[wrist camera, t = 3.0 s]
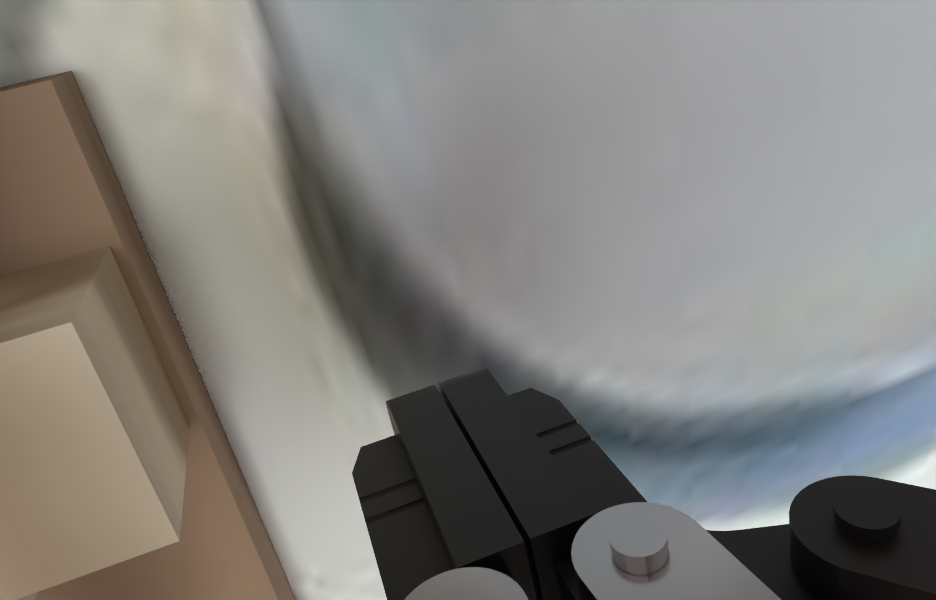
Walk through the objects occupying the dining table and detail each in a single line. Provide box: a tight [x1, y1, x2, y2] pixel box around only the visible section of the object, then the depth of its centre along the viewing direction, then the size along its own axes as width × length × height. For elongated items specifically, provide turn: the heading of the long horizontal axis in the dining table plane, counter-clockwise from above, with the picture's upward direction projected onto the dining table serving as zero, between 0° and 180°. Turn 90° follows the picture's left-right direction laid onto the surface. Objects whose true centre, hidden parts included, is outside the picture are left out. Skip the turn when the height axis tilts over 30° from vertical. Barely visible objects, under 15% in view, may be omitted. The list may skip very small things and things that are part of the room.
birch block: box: [0, 246, 190, 600], centre depth 14 cm, size 4×4×4 cm
